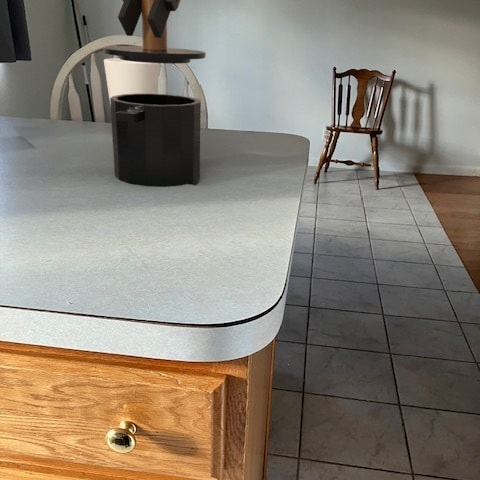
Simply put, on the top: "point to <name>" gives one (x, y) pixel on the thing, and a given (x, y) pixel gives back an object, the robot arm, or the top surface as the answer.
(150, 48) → the lid
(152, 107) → the pot
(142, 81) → the cup
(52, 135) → the top surface
